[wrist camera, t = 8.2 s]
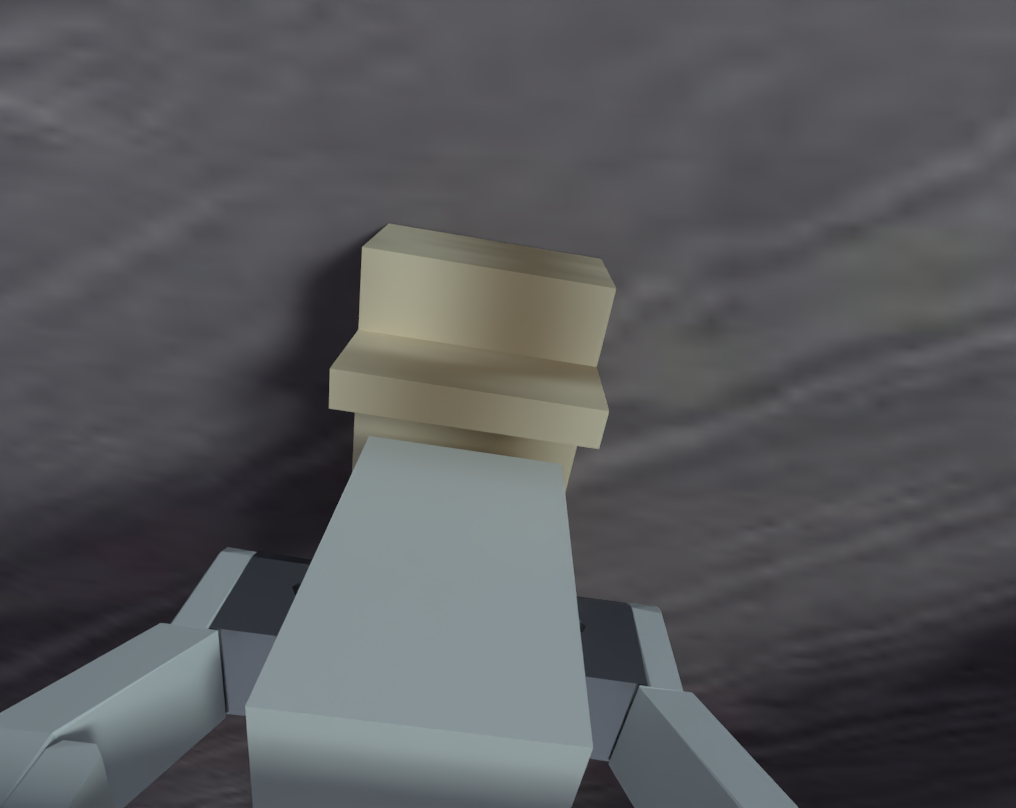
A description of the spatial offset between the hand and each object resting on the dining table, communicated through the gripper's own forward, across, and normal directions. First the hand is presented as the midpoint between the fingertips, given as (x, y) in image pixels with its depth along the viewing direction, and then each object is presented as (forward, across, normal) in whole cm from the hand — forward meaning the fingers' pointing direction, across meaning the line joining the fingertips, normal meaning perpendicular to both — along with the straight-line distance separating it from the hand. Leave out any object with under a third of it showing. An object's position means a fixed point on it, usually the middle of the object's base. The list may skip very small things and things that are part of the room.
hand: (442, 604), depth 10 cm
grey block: (+3, 0, +1) cm, 3 cm away
